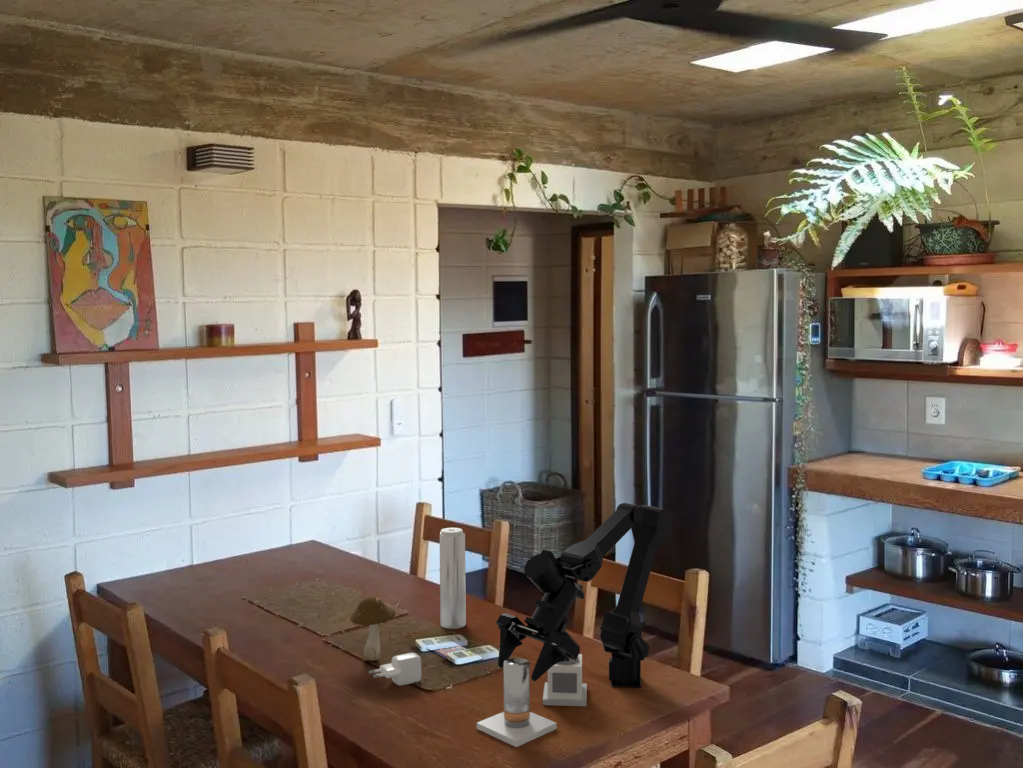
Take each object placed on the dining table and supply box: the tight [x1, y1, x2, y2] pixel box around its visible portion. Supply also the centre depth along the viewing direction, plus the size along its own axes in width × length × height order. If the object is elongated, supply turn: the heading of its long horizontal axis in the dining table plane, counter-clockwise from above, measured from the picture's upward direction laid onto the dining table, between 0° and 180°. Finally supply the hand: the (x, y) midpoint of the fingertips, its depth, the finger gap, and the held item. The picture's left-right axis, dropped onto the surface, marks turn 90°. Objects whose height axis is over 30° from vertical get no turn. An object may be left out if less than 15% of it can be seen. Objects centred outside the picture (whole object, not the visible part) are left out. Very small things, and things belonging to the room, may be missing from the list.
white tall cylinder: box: [439, 527, 467, 630], centre depth 248 cm, size 6×6×25 cm
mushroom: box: [349, 595, 397, 662], centre depth 225 cm, size 9×11×15 cm
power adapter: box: [368, 652, 422, 686], centre depth 211 cm, size 11×5×6 cm, turn 120°
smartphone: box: [434, 645, 468, 659], centre depth 230 cm, size 1×7×15 cm
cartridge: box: [503, 657, 531, 728], centre depth 188 cm, size 5×5×12 cm
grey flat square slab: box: [476, 711, 558, 748], centre depth 189 cm, size 11×11×1 cm
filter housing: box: [542, 653, 588, 707], centre depth 204 cm, size 9×9×9 cm
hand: (515, 673), depth 188 cm, fingers open, 9 cm apart
